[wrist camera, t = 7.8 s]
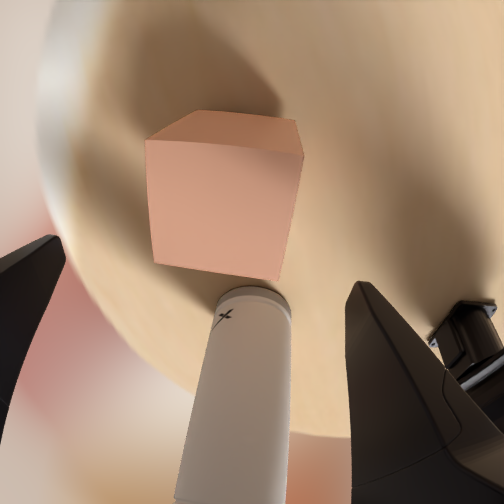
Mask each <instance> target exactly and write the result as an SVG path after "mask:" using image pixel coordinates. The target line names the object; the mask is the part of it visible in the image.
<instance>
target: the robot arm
mask: <svg viewBox="0 0 504 504" xmlns="http://www.w3.org/2000/svg"><path fill="white" fill-rule="evenodd" d="M65 262H66V256H65V253H64V249H63V246H62V243H61V240H60V238H59V237H58V236H56V235H51V234H49V235H46V236H44V237H42V238H39V239H38V240H35V241H33V242H31V243H29V244H27V245H25V246H23V247H21V248H19V249H17V250H15V251H14V252H11V253H10V254H8V255H6V256H4V257H2V258H0V443H1V438H2V434H3V429H4V425H5V421H6V417H7V413H8V410H9V405H10V402H11V398H12V395H13V392H14V389H15V385H16V382H17V379H18V376H19V374H20V371H21V368H22V365H23V362H24V360H25V357H26V354H27V352H28V349H29V347H30V344H31V342H32V339H33V337H34V335H35V332H36V330H37V328H38V325H39V323H40V321H41V319H42V317H43V314H44V312H45V310H46V308H47V306H48V303H49V301H50V299H51V296H52V294H53V291H54V289H55V286H56V284H57V281H58V279H59V277H60V274H61V272H62V270H63V267H64V265H65ZM496 310H497V306H496V304H490V303H479V302H468V301H460V302H458V303H457V304H456V305H455V307H454V308H453V310H452V311H451V312H450V314H449V315H448V317H447V318H446V319H445V321H444V322H443V324H442V325H441V326H440V328H439V329H438V330H437V332H436V333H435V334H434V335H433V337H432V338H431V339H430V341H429V342H428V344H429V347H439V350H440V353H441V356H442V359H443V362H444V365H445V366H444V365H443V364H442V363H441V361H440V360H439V359H438V358H437V357H436V355H435V354H434V353H433V352H432V351H431V349H430V348H429V347H428V346H427V345H426V344H425V342H424V341H423V340H422V339H421V338H420V337H419V335H418V334H417V333H416V332H415V331H414V330H413V329H412V327H411V326H410V325H409V324H408V323H407V322H406V321H405V319H404V318H403V317H402V316H401V315H400V314H399V313H398V312H397V311H396V309H395V308H394V307H393V306H392V305H391V304H390V303H389V302H388V301H387V300H386V298H385V297H384V296H383V295H382V294H381V293H380V292H379V291H378V290H377V289H376V288H375V287H374V286H373V285H372V284H371V283H370V282H365V281H357V282H356V283H355V284H354V286H353V288H352V290H351V293H350V295H349V297H348V299H347V301H346V305H345V358H346V370H347V381H348V394H349V408H350V426H351V455H352V492H351V493H352V496H351V504H504V346H503V344H502V342H501V340H500V338H499V336H498V333H497V331H496V329H495V327H494V325H493V323H492V321H491V319H490V318H491V317H492V316H493V314H494V313H495V311H496ZM445 368H446V369H445ZM447 369H448V370H447Z"/></svg>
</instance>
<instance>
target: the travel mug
mask: <svg viewBox="0 0 504 504" xmlns="http://www.w3.org/2000/svg"><path fill="white" fill-rule="evenodd" d="M290 391H291V309H290V307H289V305H288V303H287V302H286V300H284V299H283V298H282V297H281V296H280V295H278V294H277V293H275V292H273V291H271V290H268V289H265V288H261V287H253V286H250V287H240V288H236V289H233V290H231V291H229V292H227V293H226V294H224V295H223V296H222V297H221V298H220V300H219V301H218V303H217V307H216V311H215V315H214V319H213V323H212V327H211V331H210V336H209V340H208V344H207V348H206V352H205V357H204V361H203V365H202V369H201V374H200V378H199V382H198V387H197V391H196V396H195V400H194V405H193V410H192V413H191V418H190V422H189V427H188V432H187V436H186V441H185V446H184V450H183V455H182V460H181V465H180V470H179V474H178V479H177V484H176V489H175V494H174V498H175V499H176V502H174V503H173V504H285V498H286V484H287V466H288V447H289V424H290Z"/></svg>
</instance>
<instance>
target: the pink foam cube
mask: <svg viewBox="0 0 504 504" xmlns="http://www.w3.org/2000/svg"><path fill="white" fill-rule="evenodd" d="M145 159H146V180H147V196H148V209H149V220H150V231H151V240H152V249H153V257H154V263H159V264H165V265H171V266H177V267H183V268H190V269H196V270H203V271H209V272H216V273H223V274H230V275H236V276H243V277H250V278H257V279H265V280H272V281H279V277H280V272H281V268H282V263H283V259H284V254H285V250H286V245H287V240H288V235H289V231H290V226H291V221H292V216H293V211H294V206H295V201H296V196H297V191H298V186H299V181H300V176H301V171H302V165H303V160H304V153H303V149H302V145H301V141H300V138H299V134H298V130H297V127H296V123H295V120H290V119H284V118H277V117H270V116H262V115H254V114H245V113H234V112H223V111H209V110H196V111H194V112H192V113H190V114H188V115H186V116H185V117H183V118H181V119H179V120H177V121H176V122H174V123H172V124H170V125H169V126H167V127H165V128H164V129H162V130H160V131H159V132H157V133H155V134H154V135H152V136H150V137H149V138H147V139H146V140H145Z"/></svg>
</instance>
